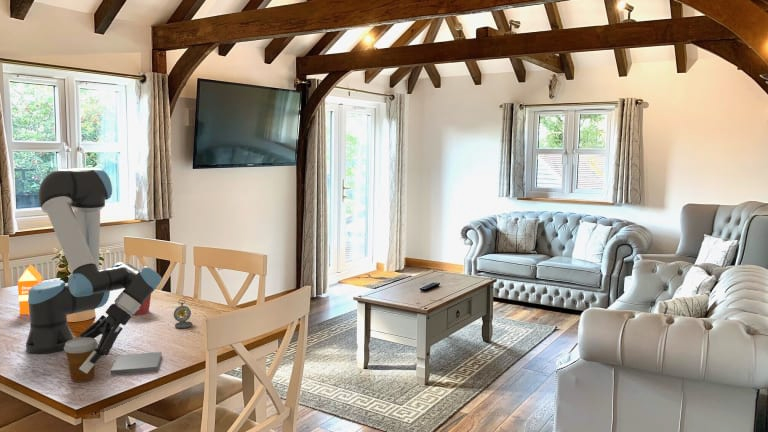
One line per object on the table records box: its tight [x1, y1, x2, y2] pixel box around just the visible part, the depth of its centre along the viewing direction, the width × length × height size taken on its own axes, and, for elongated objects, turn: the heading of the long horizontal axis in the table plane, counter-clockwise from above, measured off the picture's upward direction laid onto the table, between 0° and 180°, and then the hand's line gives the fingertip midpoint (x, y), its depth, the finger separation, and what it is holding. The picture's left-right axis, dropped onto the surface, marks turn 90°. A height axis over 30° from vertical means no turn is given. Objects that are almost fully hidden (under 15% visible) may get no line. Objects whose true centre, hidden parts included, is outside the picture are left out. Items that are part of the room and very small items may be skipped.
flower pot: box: [130, 293, 152, 316], centre depth 261 cm, size 11×11×10 cm
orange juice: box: [17, 264, 43, 315], centre depth 261 cm, size 8×9×20 cm
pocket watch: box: [173, 299, 193, 329], centre depth 244 cm, size 8×8×10 cm
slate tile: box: [110, 351, 162, 376], centre depth 202 cm, size 14×14×2 cm
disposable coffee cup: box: [63, 337, 99, 383], centre depth 190 cm, size 10×10×12 cm
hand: (75, 365), depth 189 cm, fingers open, 13 cm apart
